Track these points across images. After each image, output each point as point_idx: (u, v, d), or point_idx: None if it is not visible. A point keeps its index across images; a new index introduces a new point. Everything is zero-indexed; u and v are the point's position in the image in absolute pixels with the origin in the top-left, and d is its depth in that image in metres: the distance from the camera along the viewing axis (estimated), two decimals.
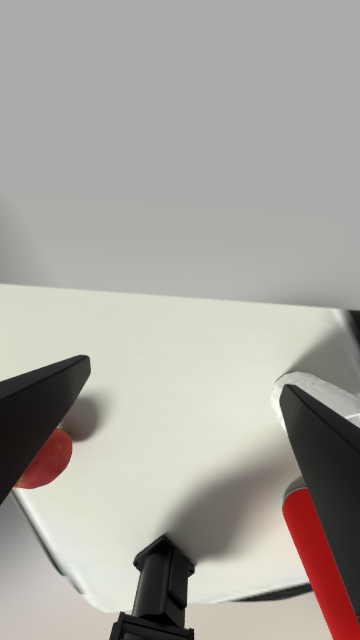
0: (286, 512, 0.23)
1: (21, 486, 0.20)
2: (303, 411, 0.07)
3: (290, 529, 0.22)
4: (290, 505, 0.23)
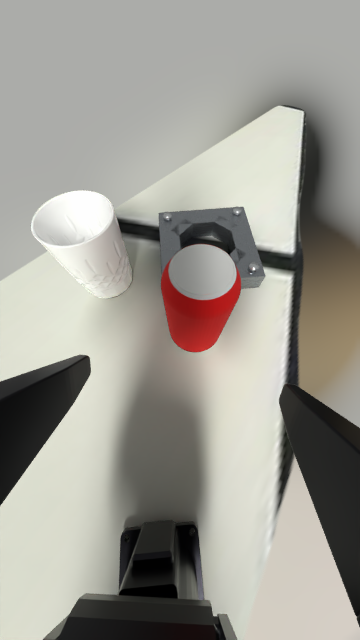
0: (174, 340, 0.22)
1: None
2: (303, 411, 0.07)
3: (179, 341, 0.20)
4: (170, 332, 0.22)
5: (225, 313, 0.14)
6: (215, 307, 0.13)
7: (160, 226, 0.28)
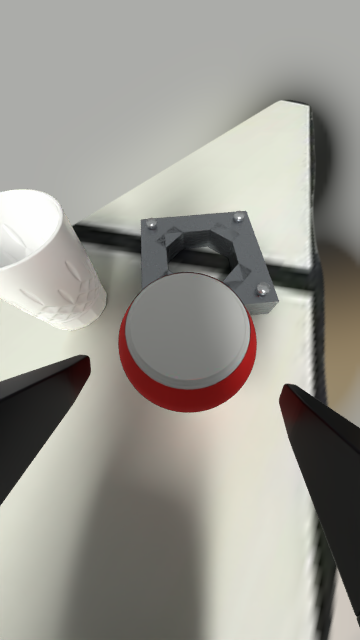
0: None
1: None
2: (303, 411, 0.07)
3: None
4: None
5: (230, 397, 0.08)
6: (211, 398, 0.07)
7: (142, 236, 0.22)
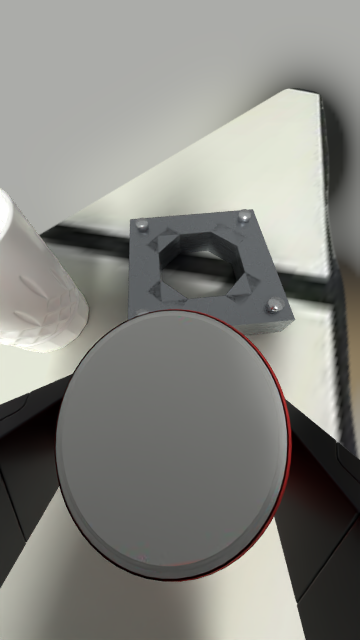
0: None
1: None
2: None
3: None
4: None
5: None
6: (215, 571, 0.04)
7: (131, 239, 0.19)
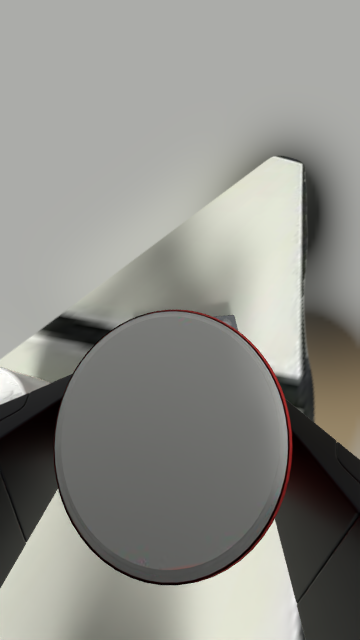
0: None
1: None
2: None
3: None
4: None
5: None
6: (215, 575, 0.03)
7: None
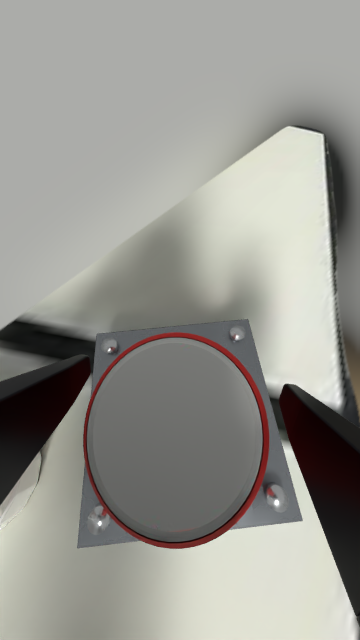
0: None
1: None
2: (303, 411, 0.07)
3: None
4: None
5: (234, 516, 0.06)
6: (207, 539, 0.05)
7: (95, 367, 0.15)
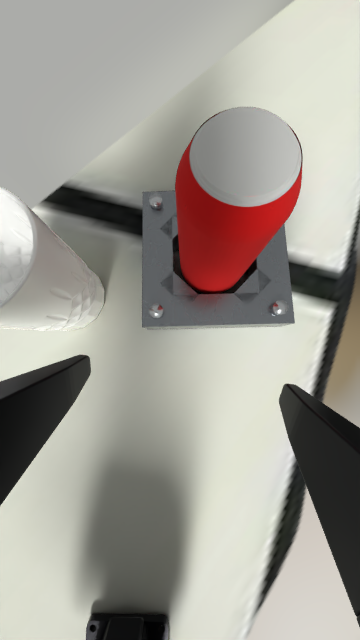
0: (186, 278, 0.18)
1: None
2: (303, 411, 0.07)
3: (192, 279, 0.16)
4: (181, 268, 0.18)
5: (268, 235, 0.09)
6: (257, 223, 0.08)
7: (144, 219, 0.18)
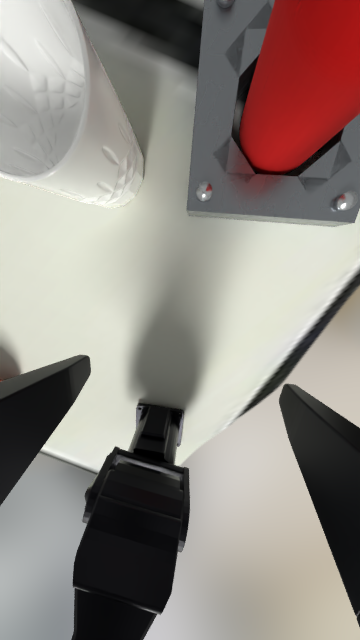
0: (245, 149, 0.15)
1: None
2: (303, 411, 0.07)
3: (253, 150, 0.14)
4: (241, 131, 0.14)
5: None
6: None
7: (204, 31, 0.12)
